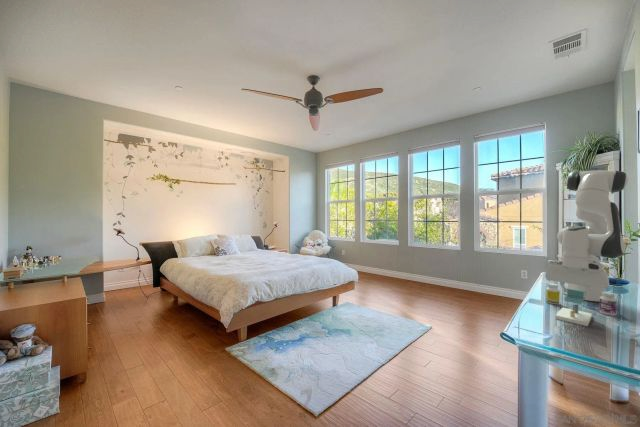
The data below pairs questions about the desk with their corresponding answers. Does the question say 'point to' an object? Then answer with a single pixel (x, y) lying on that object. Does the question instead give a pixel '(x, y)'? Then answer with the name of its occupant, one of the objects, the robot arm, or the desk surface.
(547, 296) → the supplement bottle
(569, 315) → the post board
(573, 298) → the teal bar
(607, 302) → the pill bottle
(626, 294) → the desk surface
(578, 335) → the desk surface
